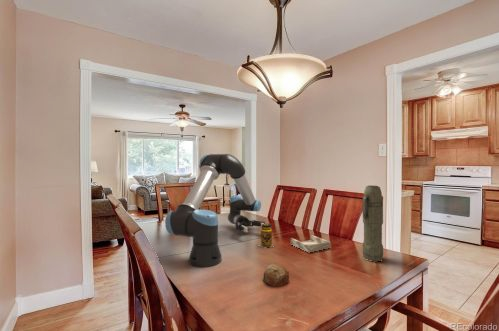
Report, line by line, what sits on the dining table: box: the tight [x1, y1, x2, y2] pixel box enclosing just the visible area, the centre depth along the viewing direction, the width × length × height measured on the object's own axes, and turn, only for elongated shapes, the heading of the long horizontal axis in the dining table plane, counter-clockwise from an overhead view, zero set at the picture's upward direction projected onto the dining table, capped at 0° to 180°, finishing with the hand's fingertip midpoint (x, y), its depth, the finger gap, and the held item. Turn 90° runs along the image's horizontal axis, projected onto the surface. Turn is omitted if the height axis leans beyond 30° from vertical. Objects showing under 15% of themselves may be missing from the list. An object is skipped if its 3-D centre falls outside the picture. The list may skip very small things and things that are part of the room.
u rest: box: [290, 234, 331, 254], centre depth 142 cm, size 15×15×4 cm
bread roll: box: [262, 263, 290, 286], centre depth 102 cm, size 10×10×8 cm
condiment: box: [257, 223, 273, 248], centre depth 144 cm, size 7×8×12 cm
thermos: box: [361, 185, 384, 261], centre depth 124 cm, size 9×12×35 cm
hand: (257, 228), depth 153 cm, fingers open, 13 cm apart
